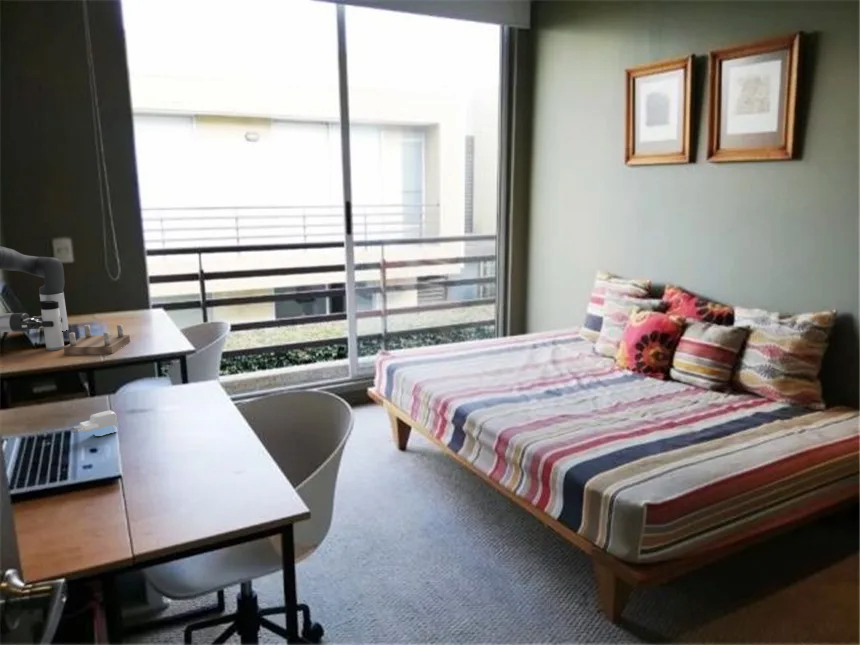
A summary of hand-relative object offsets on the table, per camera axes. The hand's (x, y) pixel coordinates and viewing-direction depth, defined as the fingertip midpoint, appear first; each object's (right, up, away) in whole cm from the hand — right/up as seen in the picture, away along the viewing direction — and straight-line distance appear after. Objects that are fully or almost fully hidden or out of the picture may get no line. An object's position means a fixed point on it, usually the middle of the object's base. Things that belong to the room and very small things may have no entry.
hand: (57, 322), depth 248 cm
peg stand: (+15, -11, +4) cm, 18 cm away
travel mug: (-2, -11, +2) cm, 11 cm away
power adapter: (+59, -31, -82) cm, 106 cm away
